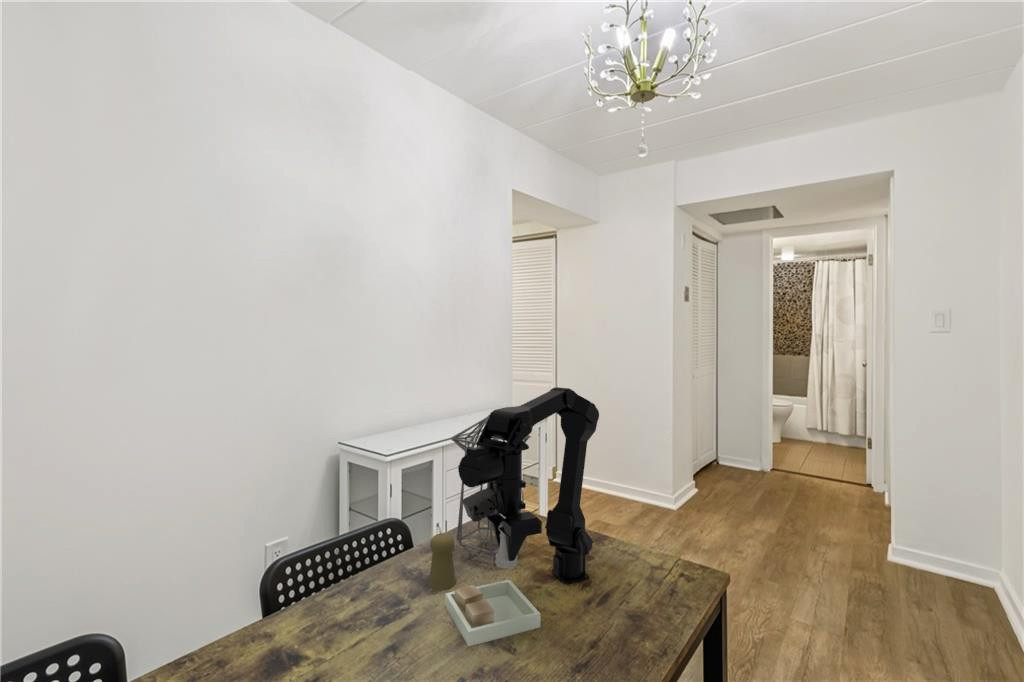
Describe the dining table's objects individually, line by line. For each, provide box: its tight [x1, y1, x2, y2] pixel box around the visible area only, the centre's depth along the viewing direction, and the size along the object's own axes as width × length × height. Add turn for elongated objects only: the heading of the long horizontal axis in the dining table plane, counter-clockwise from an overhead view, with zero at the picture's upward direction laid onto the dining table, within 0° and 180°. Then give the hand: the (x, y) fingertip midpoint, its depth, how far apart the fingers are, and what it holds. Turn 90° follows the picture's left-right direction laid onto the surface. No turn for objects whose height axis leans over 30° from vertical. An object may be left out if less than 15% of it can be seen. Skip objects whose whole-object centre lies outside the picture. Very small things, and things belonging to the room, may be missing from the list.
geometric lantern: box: [450, 414, 532, 567], centre depth 121 cm, size 16×16×35 cm
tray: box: [444, 579, 542, 647], centre depth 95 cm, size 14×14×3 cm
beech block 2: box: [466, 600, 494, 628], centre depth 91 cm, size 4×4×4 cm
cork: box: [428, 532, 457, 591], centre depth 108 cm, size 6×6×11 cm
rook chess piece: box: [494, 521, 519, 570], centre depth 96 cm, size 4×4×8 cm
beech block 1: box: [454, 584, 483, 619], centre depth 96 cm, size 4×4×4 cm
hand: (506, 555), depth 96 cm, fingers closed on rook chess piece, 4 cm apart
